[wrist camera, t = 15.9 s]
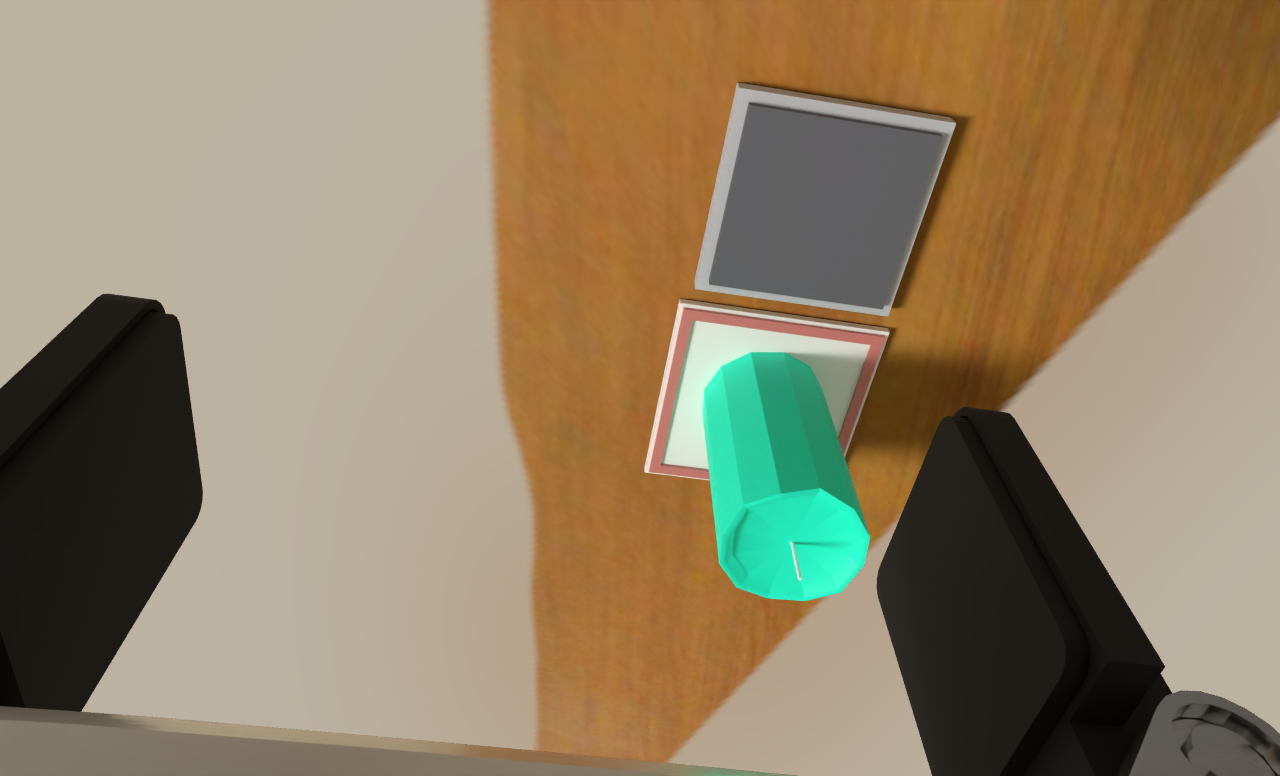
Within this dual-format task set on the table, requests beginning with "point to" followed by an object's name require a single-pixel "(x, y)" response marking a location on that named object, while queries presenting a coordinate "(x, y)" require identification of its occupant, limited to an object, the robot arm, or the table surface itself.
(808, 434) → the candle
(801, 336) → the marked card
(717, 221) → the ink pad
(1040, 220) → the table surface
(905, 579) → the robot arm
